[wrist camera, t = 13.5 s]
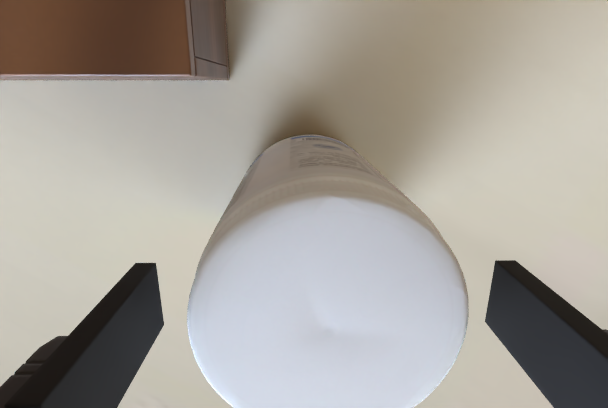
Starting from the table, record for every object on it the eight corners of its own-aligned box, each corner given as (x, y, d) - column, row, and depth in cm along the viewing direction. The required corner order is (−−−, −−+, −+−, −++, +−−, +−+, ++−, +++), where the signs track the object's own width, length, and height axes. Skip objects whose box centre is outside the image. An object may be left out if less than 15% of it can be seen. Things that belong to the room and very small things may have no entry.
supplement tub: (288, 283, 28) (282, 483, 14) (213, 180, 25) (111, 297, 11) (402, 218, 26) (522, 366, 12) (333, 102, 24) (388, 123, 10)
